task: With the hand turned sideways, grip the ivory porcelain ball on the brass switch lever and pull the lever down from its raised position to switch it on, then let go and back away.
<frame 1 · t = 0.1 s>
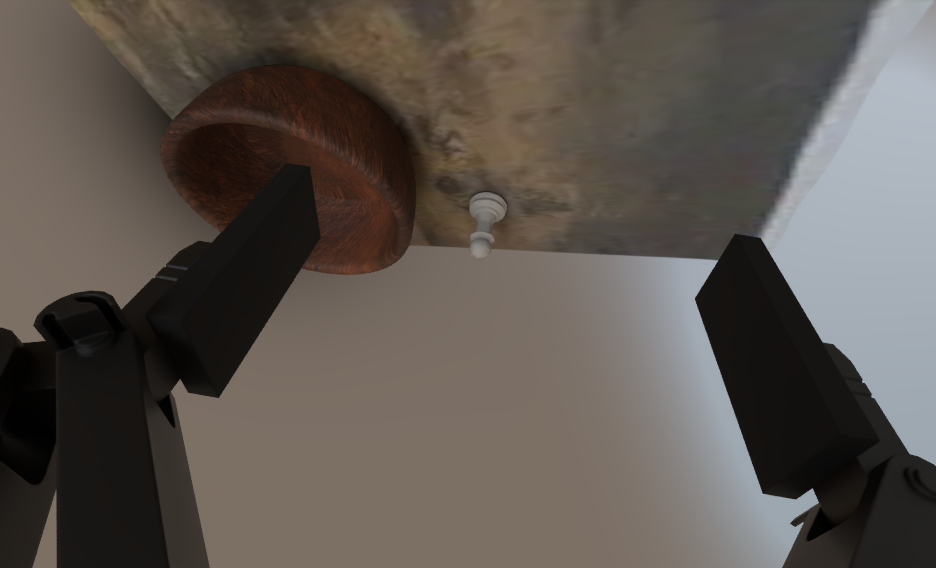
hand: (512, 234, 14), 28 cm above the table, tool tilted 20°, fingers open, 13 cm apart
wooden bowl: (323, 141, 52), on the table
chess piece: (488, 202, 56), on the table
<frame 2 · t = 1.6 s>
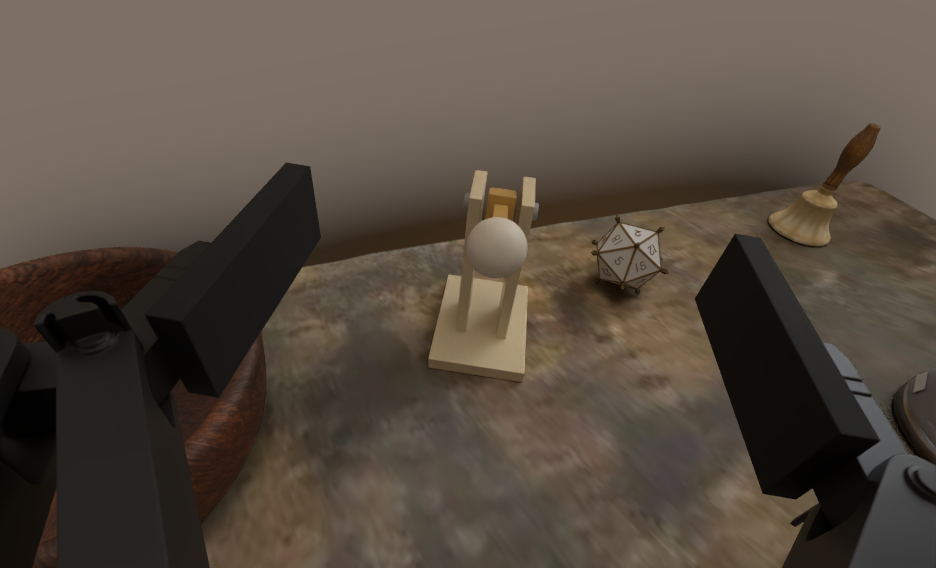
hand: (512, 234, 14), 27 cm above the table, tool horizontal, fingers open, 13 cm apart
wooden bowl: (115, 451, 35), on the table
hand bell: (797, 230, 67), on the table
game die: (616, 282, 54), on the table
lever: (498, 224, 31), point 17 cm above the table, hinge at 20.0°
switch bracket: (481, 328, 47), on the table
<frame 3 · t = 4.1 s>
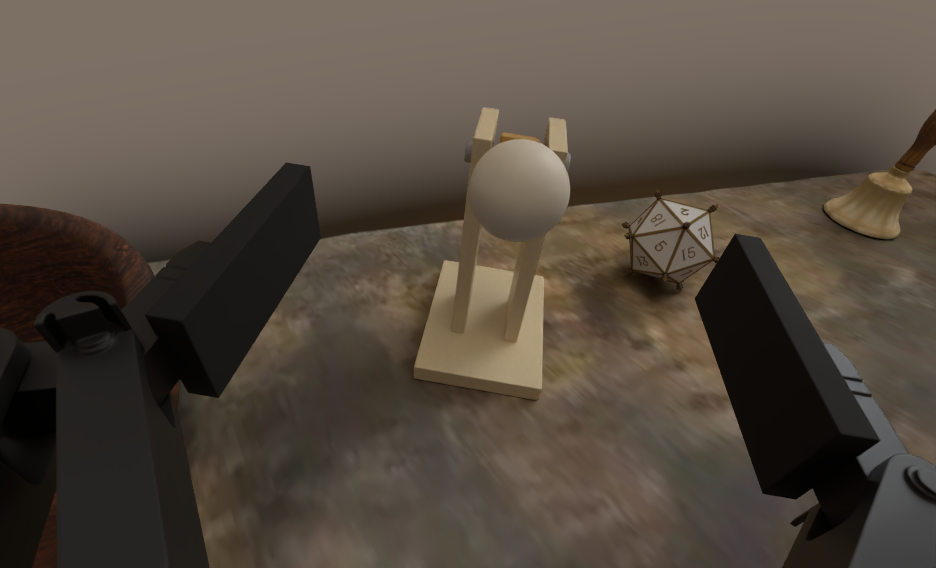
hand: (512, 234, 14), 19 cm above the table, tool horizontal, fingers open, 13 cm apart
hand bell: (858, 221, 56), on the table
game die: (651, 275, 44), on the table
lever: (517, 171, 21), point 17 cm above the table, hinge at 20.0°
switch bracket: (484, 328, 36), on the table
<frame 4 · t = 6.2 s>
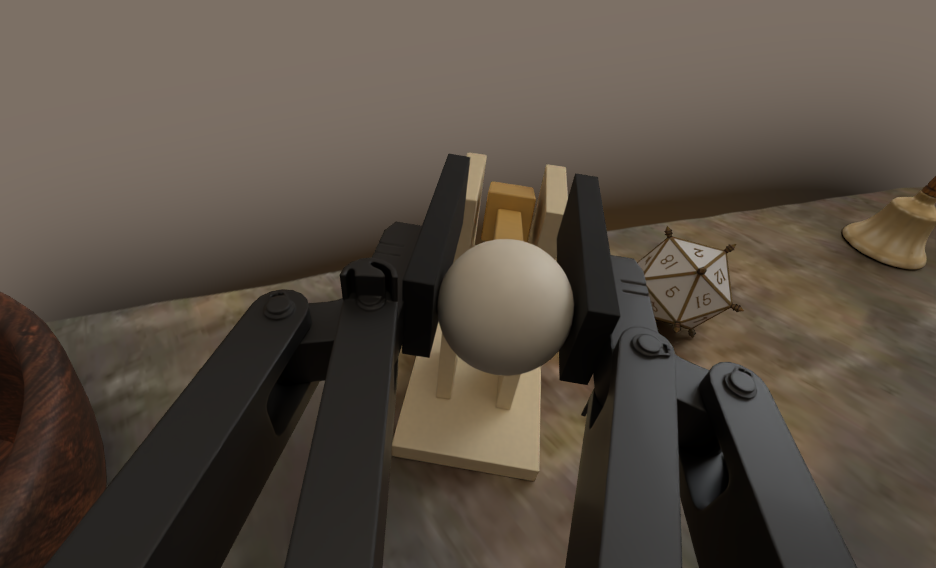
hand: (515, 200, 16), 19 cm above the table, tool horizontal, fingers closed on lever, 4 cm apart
hand bell: (880, 248, 52), on the table
game die: (660, 318, 40), on the table
lever: (506, 247, 17), point 17 cm above the table, hinge at 20.0°, touching gripper
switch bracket: (474, 388, 32), on the table
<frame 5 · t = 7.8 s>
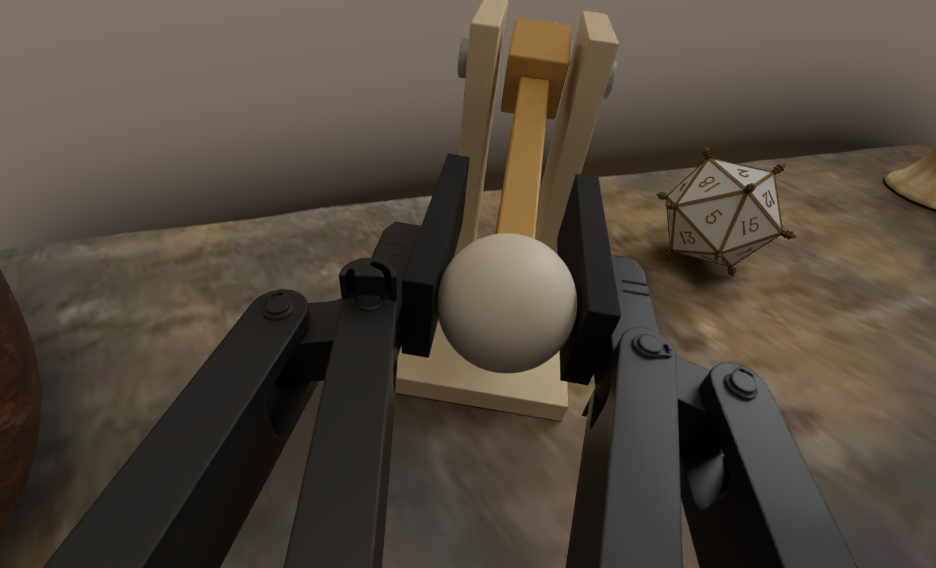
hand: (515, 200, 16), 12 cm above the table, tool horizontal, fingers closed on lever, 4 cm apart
hand bell: (927, 195, 48), on the table
game die: (694, 258, 35), on the table
lever: (523, 165, 15), point 14 cm above the table, hinge at -13.8°, touching gripper
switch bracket: (487, 323, 28), on the table
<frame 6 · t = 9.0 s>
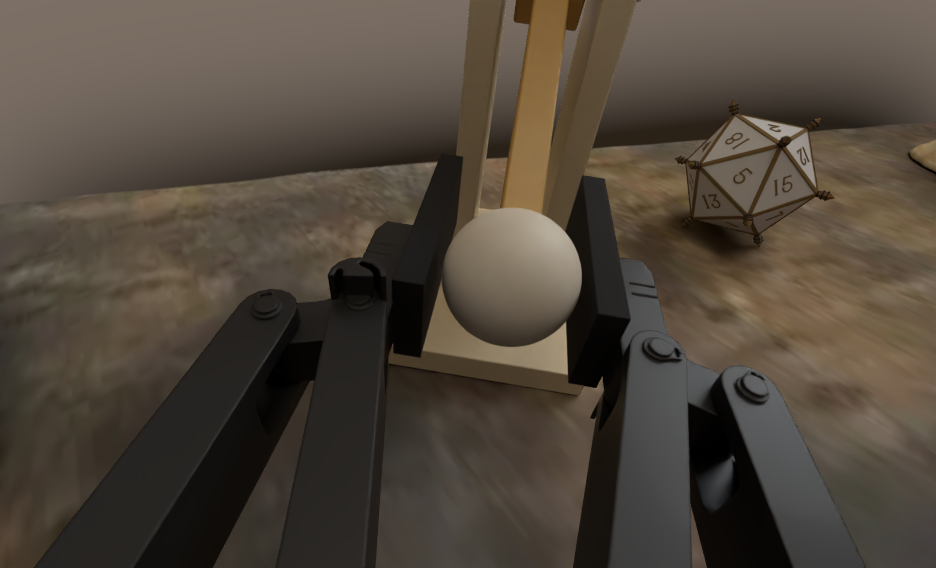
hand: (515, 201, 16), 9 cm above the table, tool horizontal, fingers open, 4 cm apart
game die: (716, 227, 33), on the table
lever: (535, 108, 13), point 12 cm above the table, hinge at -31.0°
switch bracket: (493, 291, 25), on the table
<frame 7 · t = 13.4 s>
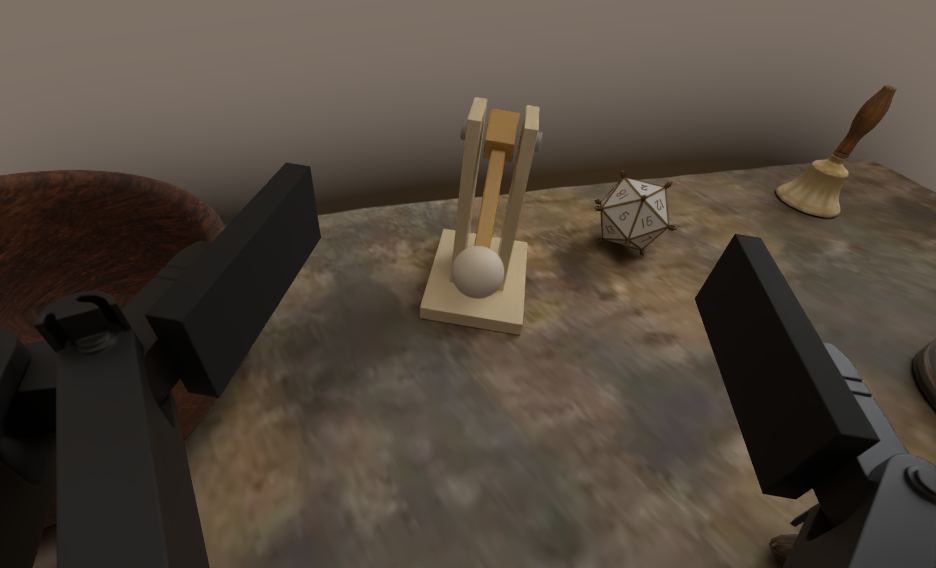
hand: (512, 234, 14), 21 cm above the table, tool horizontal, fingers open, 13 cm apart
wooden bowl: (71, 391, 31), on the table
hand bell: (805, 202, 64), on the table
game die: (620, 244, 52), on the table
lever: (489, 203, 32), point 12 cm above the table, hinge at -31.0°
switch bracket: (477, 282, 44), on the table
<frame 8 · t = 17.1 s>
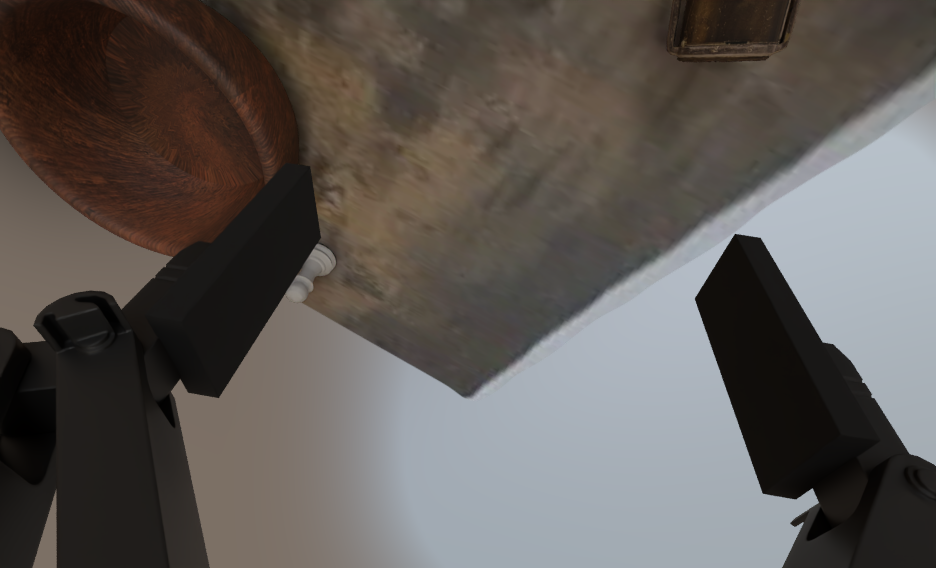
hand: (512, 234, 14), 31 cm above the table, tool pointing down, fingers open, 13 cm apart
wooden bowl: (203, 104, 46), on the table
chess piece: (319, 255, 58), on the table
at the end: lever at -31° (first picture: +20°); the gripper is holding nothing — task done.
